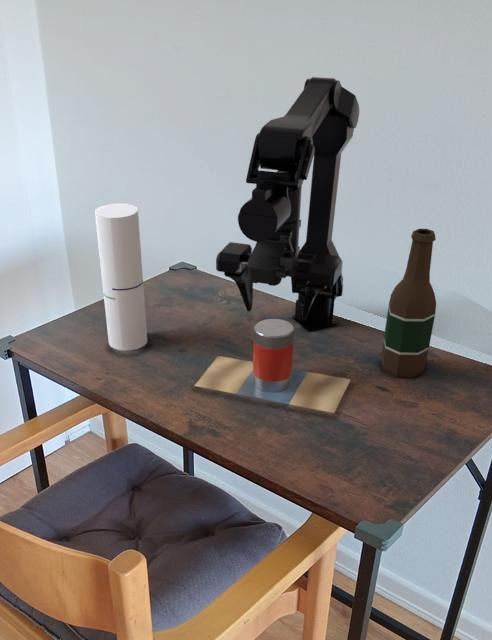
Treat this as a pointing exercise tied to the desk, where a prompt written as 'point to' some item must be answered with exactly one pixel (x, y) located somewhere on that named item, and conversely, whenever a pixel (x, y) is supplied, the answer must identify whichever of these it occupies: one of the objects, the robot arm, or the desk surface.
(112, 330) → the cylindrical container
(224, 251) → the robot arm
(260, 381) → the tin can
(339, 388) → the board
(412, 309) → the beer bottle
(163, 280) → the desk surface
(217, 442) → the desk surface
